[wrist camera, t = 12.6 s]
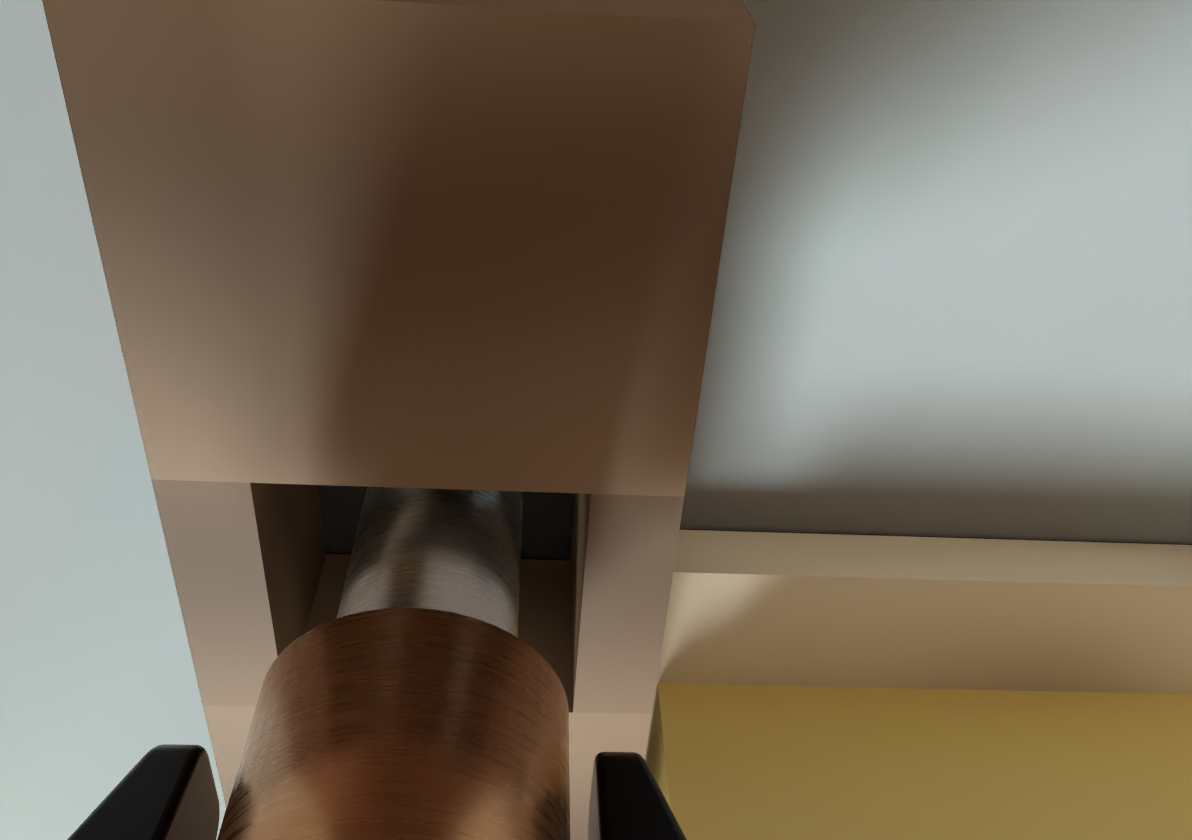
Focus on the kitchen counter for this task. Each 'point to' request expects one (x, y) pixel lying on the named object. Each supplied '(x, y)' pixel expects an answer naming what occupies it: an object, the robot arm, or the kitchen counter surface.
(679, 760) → the block
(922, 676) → the subfloor panel
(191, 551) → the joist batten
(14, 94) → the kitchen counter surface
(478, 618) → the awl
